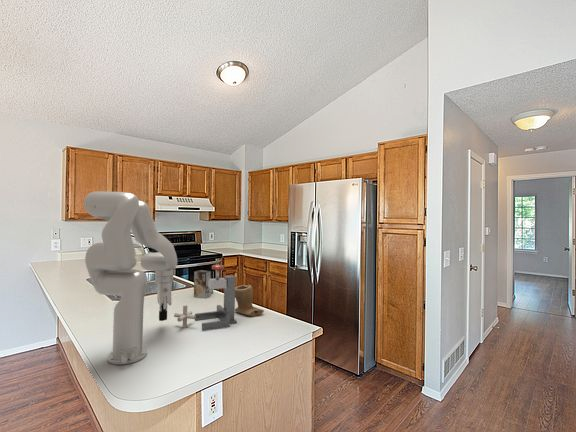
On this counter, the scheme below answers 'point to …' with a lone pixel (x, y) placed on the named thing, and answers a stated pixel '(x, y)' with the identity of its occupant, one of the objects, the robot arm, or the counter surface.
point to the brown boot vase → (246, 301)
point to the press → (222, 309)
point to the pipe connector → (184, 316)
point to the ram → (217, 279)
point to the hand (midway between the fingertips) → (162, 319)
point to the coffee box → (201, 283)
